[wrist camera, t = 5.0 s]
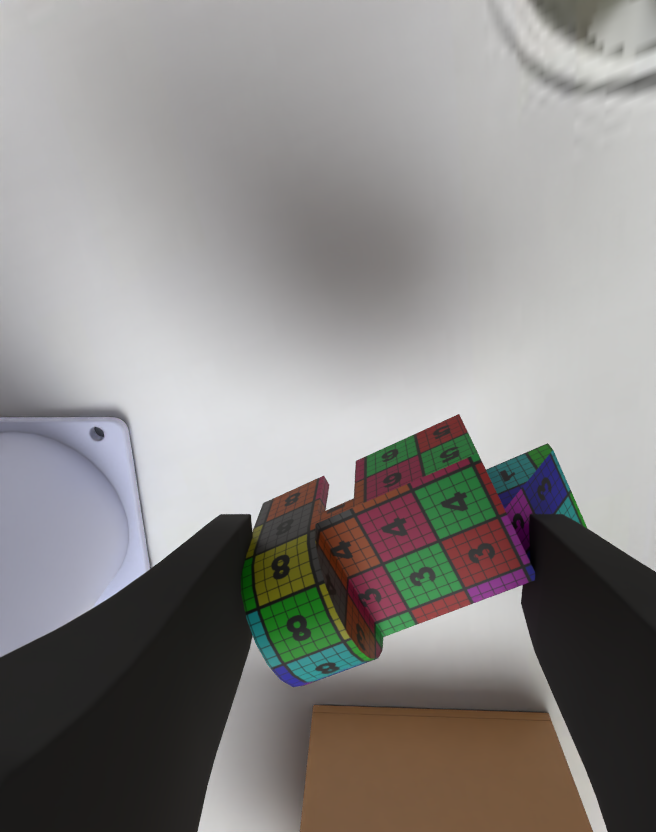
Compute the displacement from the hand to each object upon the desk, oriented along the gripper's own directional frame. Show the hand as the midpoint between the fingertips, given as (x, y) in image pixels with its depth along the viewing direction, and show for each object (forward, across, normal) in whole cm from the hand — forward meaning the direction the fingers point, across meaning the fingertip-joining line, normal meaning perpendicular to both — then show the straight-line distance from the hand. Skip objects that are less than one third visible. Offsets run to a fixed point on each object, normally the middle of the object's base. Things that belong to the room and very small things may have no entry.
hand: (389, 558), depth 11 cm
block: (+2, -1, 0) cm, 2 cm away
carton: (+9, -2, +18) cm, 20 cm away
